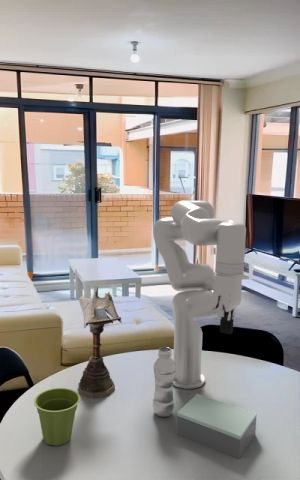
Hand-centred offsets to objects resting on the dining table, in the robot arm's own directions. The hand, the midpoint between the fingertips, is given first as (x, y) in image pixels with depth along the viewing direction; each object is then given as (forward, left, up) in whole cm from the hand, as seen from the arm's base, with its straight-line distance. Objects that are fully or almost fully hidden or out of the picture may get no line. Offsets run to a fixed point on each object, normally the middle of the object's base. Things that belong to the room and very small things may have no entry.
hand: (226, 332), depth 116 cm
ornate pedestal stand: (-39, -7, -27) cm, 48 cm away
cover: (+1, -6, -22) cm, 23 cm away
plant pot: (-33, -32, -27) cm, 53 cm away
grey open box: (+1, -6, -27) cm, 28 cm away
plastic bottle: (-16, -6, -27) cm, 32 cm away
